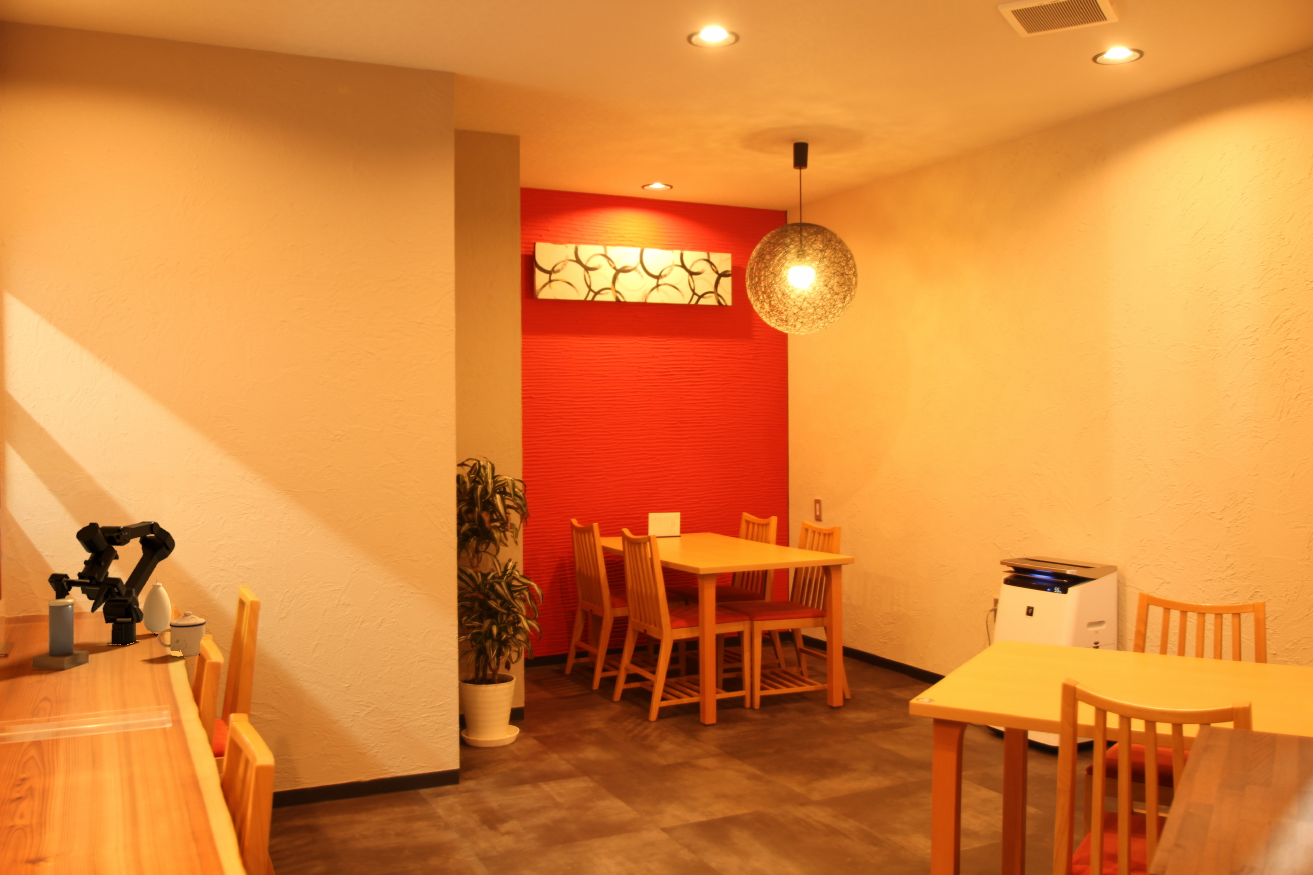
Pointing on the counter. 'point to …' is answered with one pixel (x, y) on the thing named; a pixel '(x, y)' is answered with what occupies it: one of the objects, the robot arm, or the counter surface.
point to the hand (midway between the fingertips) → (74, 610)
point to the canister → (61, 627)
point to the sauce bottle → (157, 609)
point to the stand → (60, 661)
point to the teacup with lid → (185, 634)
